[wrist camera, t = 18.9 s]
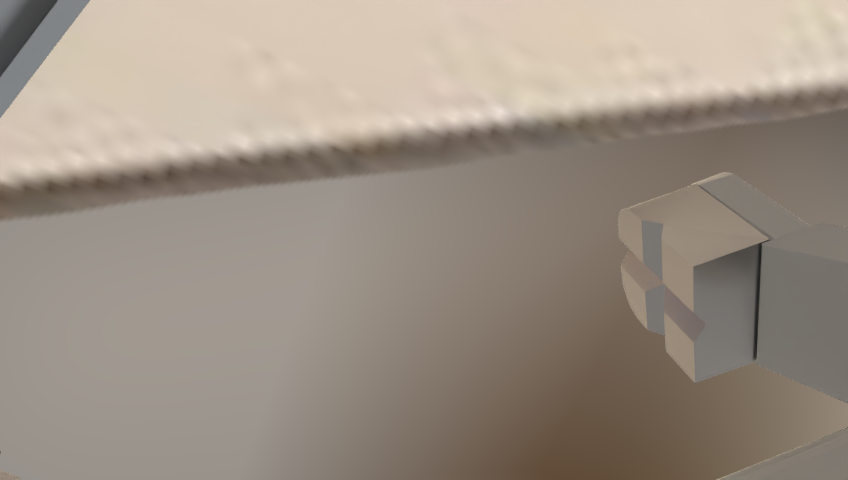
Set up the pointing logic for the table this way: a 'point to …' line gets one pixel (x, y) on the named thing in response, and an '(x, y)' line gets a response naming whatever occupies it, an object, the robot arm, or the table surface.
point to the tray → (30, 39)
